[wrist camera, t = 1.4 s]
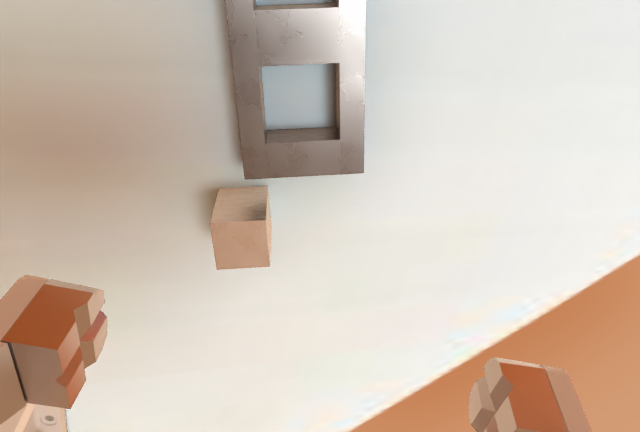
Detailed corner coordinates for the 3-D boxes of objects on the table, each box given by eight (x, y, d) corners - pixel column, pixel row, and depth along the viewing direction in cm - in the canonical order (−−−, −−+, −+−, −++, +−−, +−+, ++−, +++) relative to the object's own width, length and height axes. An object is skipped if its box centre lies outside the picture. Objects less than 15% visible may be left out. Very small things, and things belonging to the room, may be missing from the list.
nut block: (271, 227, 43) (270, 266, 38) (225, 230, 43) (216, 269, 38) (267, 185, 41) (265, 220, 36) (219, 188, 41) (209, 223, 36)
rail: (358, 158, 41) (363, 172, 38) (247, 164, 40) (244, 179, 38) (360, -142, 31) (367, -150, 28) (215, -138, 31) (209, -146, 28)
